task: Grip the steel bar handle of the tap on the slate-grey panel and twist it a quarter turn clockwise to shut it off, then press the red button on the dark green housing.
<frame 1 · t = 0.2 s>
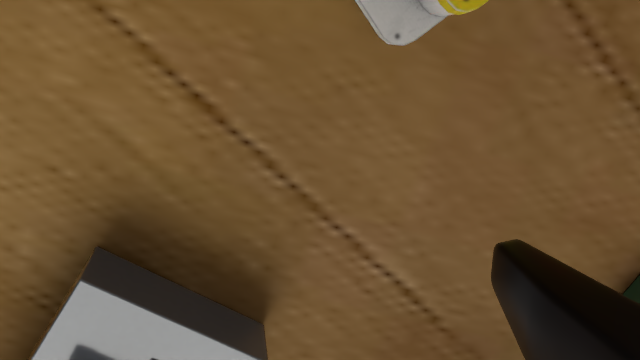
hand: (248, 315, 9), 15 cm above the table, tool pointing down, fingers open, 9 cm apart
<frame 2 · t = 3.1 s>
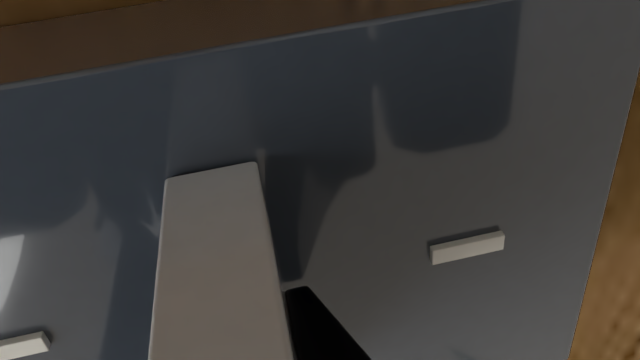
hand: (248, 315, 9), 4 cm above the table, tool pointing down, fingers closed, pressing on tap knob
tap panel: (235, 198, 12), on the table
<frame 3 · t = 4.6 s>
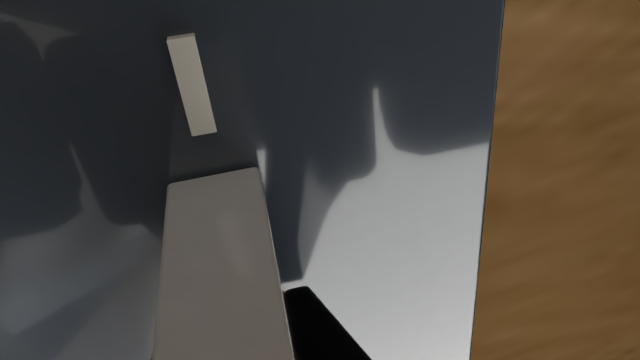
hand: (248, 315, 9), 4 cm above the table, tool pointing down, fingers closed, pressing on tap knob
tap panel: (236, 202, 12), on the table
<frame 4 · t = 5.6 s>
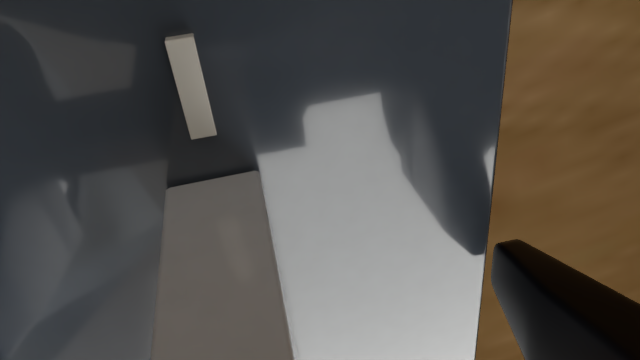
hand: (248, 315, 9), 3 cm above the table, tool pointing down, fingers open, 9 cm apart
tap panel: (237, 205, 12), on the table
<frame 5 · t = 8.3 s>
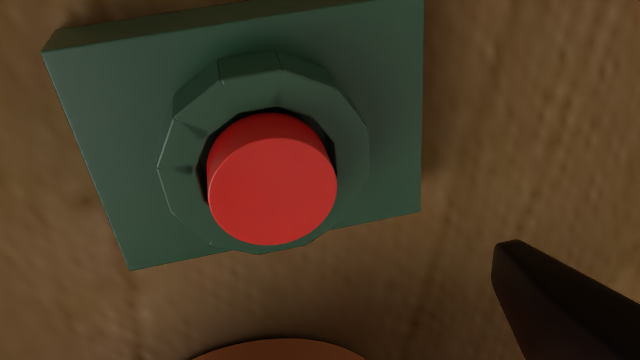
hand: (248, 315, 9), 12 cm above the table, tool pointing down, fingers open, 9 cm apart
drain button: (270, 180, 17), point 4 cm above the table, slide at 0.1 cm
button box: (256, 118, 21), on the table
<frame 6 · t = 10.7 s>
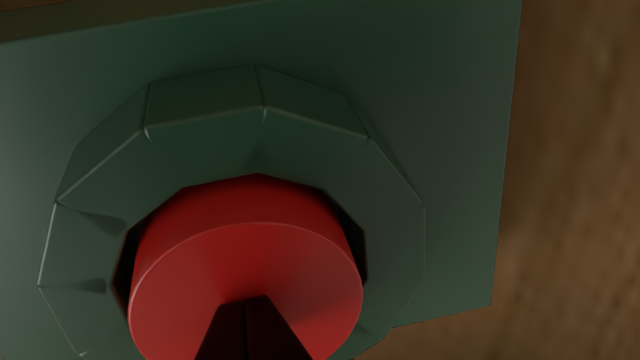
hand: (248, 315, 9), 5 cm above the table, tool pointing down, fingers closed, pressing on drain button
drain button: (246, 280, 10), point 4 cm above the table, slide at -0.4 cm, touching gripper
button box: (234, 169, 13), on the table
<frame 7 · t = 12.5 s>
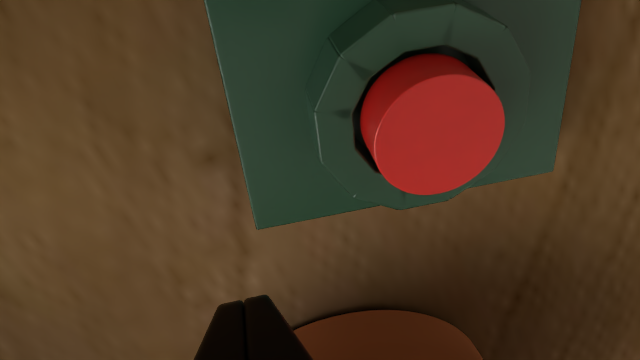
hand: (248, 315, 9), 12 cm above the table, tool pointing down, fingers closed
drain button: (430, 125, 16), point 4 cm above the table, slide at 0.1 cm
button box: (388, 71, 20), on the table
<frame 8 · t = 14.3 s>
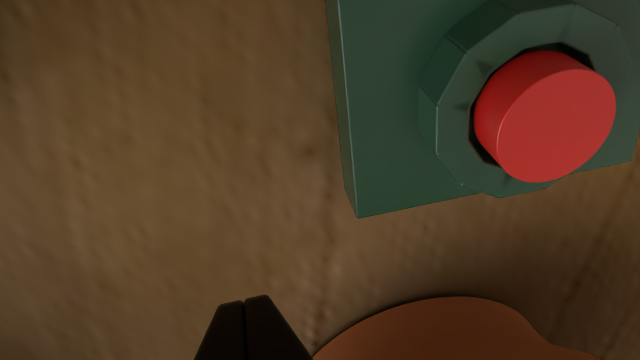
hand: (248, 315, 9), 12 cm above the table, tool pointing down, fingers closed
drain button: (541, 117, 17), point 4 cm above the table, slide at 0.1 cm
button box: (481, 67, 21), on the table
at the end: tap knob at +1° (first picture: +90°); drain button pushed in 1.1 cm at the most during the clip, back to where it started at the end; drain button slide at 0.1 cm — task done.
